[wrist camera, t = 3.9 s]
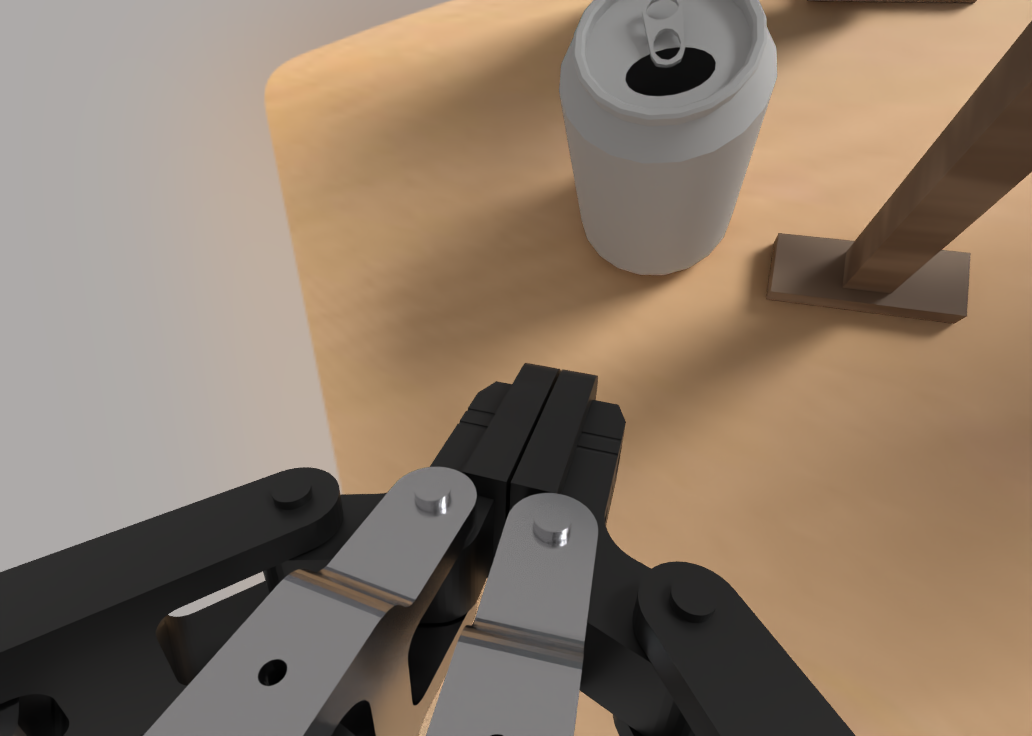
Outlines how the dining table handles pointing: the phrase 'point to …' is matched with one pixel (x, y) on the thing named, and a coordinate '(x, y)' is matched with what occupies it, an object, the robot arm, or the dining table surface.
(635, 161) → the can
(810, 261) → the door frame
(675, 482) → the dining table surface
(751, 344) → the dining table surface
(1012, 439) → the dining table surface
